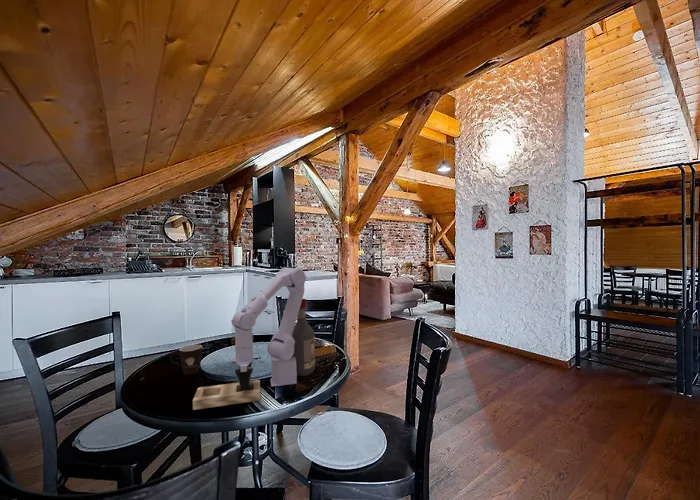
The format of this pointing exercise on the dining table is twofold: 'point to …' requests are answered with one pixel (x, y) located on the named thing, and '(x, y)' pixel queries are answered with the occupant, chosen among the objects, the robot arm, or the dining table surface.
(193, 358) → the coffee mug
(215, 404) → the block
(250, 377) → the drill rod
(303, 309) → the liquor
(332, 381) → the dining table surface
